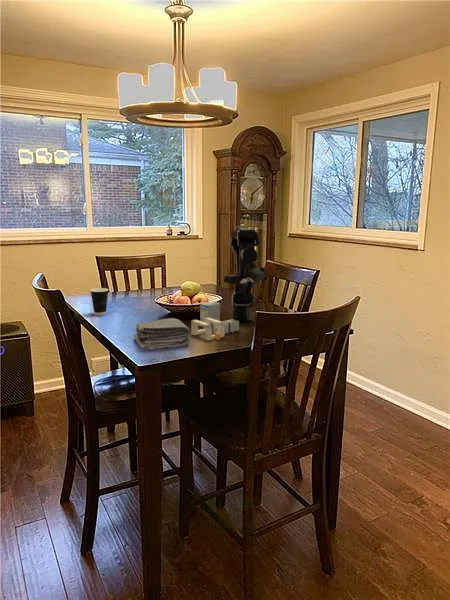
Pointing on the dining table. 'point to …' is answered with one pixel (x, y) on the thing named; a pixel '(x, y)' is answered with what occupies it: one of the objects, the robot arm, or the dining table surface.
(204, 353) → the dining table surface
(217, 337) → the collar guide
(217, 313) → the medicine box
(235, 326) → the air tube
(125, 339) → the dining table surface
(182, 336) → the towel
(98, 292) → the dixie cup
